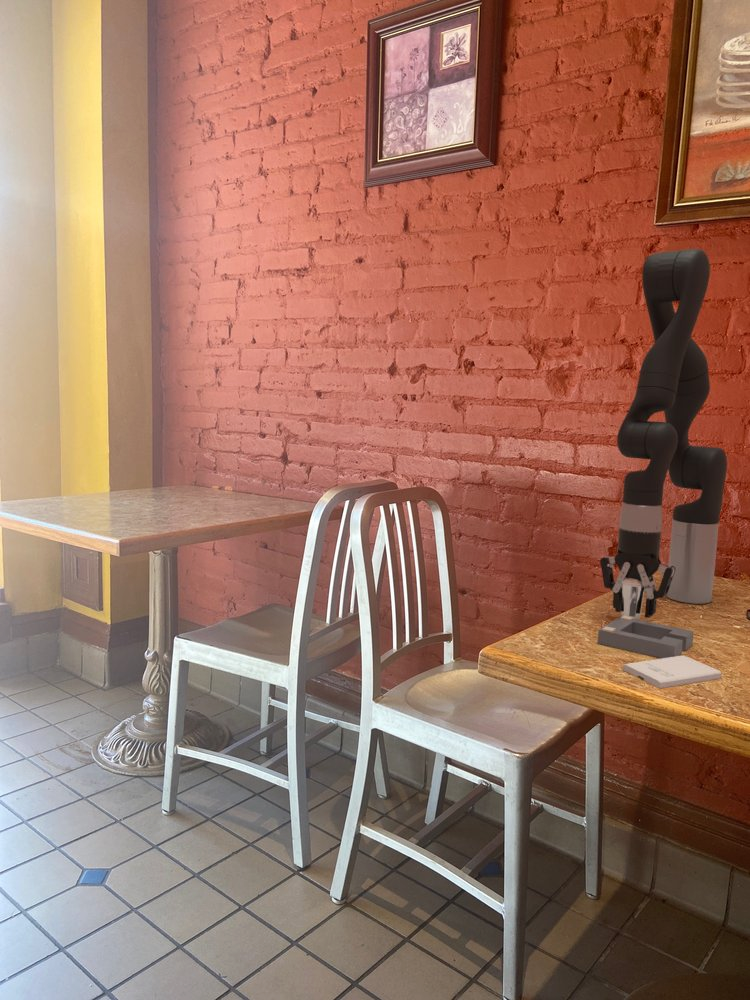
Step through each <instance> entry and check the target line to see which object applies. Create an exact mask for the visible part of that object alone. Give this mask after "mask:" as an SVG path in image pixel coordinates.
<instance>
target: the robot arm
mask: <svg viewBox="0 0 750 1000" xmlns="http://www.w3.org/2000/svg"><path fill="white" fill-rule="evenodd" d="M710 273H711V265H710V260H709V257H708V255H707V254H706V252H705V251H704V250H703V249H700V248H689V249H678V250H668V251H662V252H661V251H660V252H656V253H651V254H649V255H648V256H647V257H646V258H645V260H644V262H643V266H642V273H641V274H642V275H641V279H642V280H641V281H642V290H643V295H644V300H645V304H646V308H647V313H648V316H649V317H648V318H649V320H650V325H651V329H652V334H653V340H654V343H653V345H652V346H651V347H650V348H649V350H648V351H647V353H646V354H645V356H644V358H643V360H642V363H641V367H640V370H639V375H638V380H637V385H636V391H635V396H634V398H633V400H632V402H631V405H630V407H629V409H628V411H627V413H626V415H625V417H624V419H623V421H622V423H621V425H620V428H619V429H618V432H617V437H616V444H617V448H618V451H619V452H620V454H621V455H622V456H623V457H626V458H631V459H640V460H642V459H644V460H649V463H648V465H647V466H646V468H645V469H643V470H637V471H636V470H635V471H630V472H628V473H627V474H626V475H625V476H624V480H623V481H624V482H623V491H622V492H623V493H622V503H621V504H622V505H621V509H620V515H619V520H618V521H619V522H618V542H617V552H616V554H615V556H609V555H606V556H604V557H601V558H600V559H599V561H600V567H601V574H602V582H603V587H604V588H605V589H609V590H611V591H612V593H613V594H612V595H613V597H612V608H613V609H614V612H616V613H621V583H622V582H623V580H624V579H625V578H633V579H637V580H639V581H642V583H643V587H644V588H645V594H646V597H647V598H646V599H645V611H644V618H645V619H646V618H647V619H650V618H652V616H654V615H655V614H656V612H657V601H658V600H657V599H660V598H661V599H662V598H664V597H665V596H666V597H667V599H670V600H672V601H677V602H681V603H685V604H686V603H687V604H696V605H697V604H698V605H700V604H702V605H704V604H709V603H711V602H712V600H713V599H712V598H713V589H714V581H715V579H714V578H715V569H716V560H717V559H716V557H717V549H718V548H717V547H718V535H719V525H720V524H719V523H720V516H721V511H722V505H723V497H724V490H725V489H724V488H725V484H726V477H727V470H728V458H727V454H726V452H725V450H724V449H722V448H720V447H715V446H714V447H713V446H701V445H691V444H690V441H689V431H690V427H691V425H692V424H693V422H694V420H695V418H696V417H697V415H698V414H699V412H700V411H701V409H702V408H703V406H704V404H705V403H706V402H707V399H708V396H709V394H710V390H711V383H710V375H709V364H708V359H707V357H706V354H705V353H704V352H703V350H702V348H701V347H700V346H699V345H698V344H697V343H696V341H695V340H694V339H693V338H692V335H693V331H694V328H695V326H696V323H697V320H698V317H699V315H700V312H701V308H702V305H703V303H704V300H705V298H706V297H705V296H706V293H707V290H708V286H709V281H710V275H711V274H710ZM673 302H678V305H677V309H676V310H675V308H674V305H673V304H674V303H673ZM660 412H664V419H665V420H664V421H651V420H650V418H651V417H652V416H653V415H654V414H656V413H657V414H658V413H660ZM667 474H668V475H669V478H670V481H671V484H673V486H675V487H677V488H682V489H690V490H700V491H701V494H700V497H699V498H697V499H695V500H693V501H690V502H686V503H681V504H678V505H676V506H674V508H673V511H672V523H671V532H670V533H671V535H670V536H671V537H670V543H669V544H670V547H669V556H668V557H669V558H668V565H666V564H663V563H662V561H661V559H660V547H661V536H662V524H663V496H664V486H665V485H664V484H665V481H666V478H667ZM615 564H616V566H617V567H618V570H619V574H618V575H617V578H616V581H615V578H614V571H613V570H614V569H613V567H615ZM658 570H659V571H660V576H661V577H662V579H661V581H660V585H659V587H658V590H657V587H656V579H655V577H654V574H655V573H656V572H657V571H658Z"/></svg>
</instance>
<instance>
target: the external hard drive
mask: <svg viewBox="0 0 750 1000" xmlns="http://www.w3.org/2000/svg"><path fill="white" fill-rule="evenodd" d="M621 670H622V671H624V672H626V673H628V674H630V675H632V676H634V677H636V678H638V679H640V680H642V681H644V682H645V683H648V684H650V685H652V686H653V687H655V688H658V689H666V688H671V687H672V688H673V687H679V686H683V685H689V684H695V683H696V684H697V683H701V682H703V683H704V682H709V681H714V680H721V679H722V674H723V673H722V671H720V670H719V669H716V668H713V667H712V666H709V665H707V664H705V663H702V662H700V661H698V660H695V659H694V658H691V657H688V656H687V655H682V654H681V655H680V656H675V657H669V658H656V659H650V660H644V661H636V662H632V663H630V662H628V663H623V664H622V669H621Z"/></svg>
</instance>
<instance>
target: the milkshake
mask: <svg viewBox="0 0 750 1000" xmlns="http://www.w3.org/2000/svg"><path fill="white" fill-rule="evenodd" d="M645 594H646V590H645V588H644V587H643V583H642V581H639V580H637V579H633V578H625V579H624V580H623V582H622V583H621V612H620V613H621V616H629V617H634V619H637V620H641V615H642V610H643V609H642V608H643V602H644V597H645Z"/></svg>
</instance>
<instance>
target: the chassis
mask: <svg viewBox="0 0 750 1000" xmlns="http://www.w3.org/2000/svg"><path fill="white" fill-rule="evenodd" d="M694 633H695V631H694V630H690V629H685V628H680V627H675V626H670V625H665V624H660V623H656V622H652V621H651V622H650V621H645V620H641V619H640V620H637V619H634V617H629V616H619V617H617V618H616V619H614V620H612V621H610V622H609V623H608V624H606V625H604V626H603V627H601V628H599V629H598V634H597V644H599V645H603V646H606V647H612V648H616V649H621V650H625V651H629V652H634V653H636V654H637V653H638V654H642V655H645V656H650V657H655V658H657V659H662V658H669V657H675V656H682V654H683V653H682V652H686V651H687V650H688V649H689V648H690V647H691V646H693V641H694Z"/></svg>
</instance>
